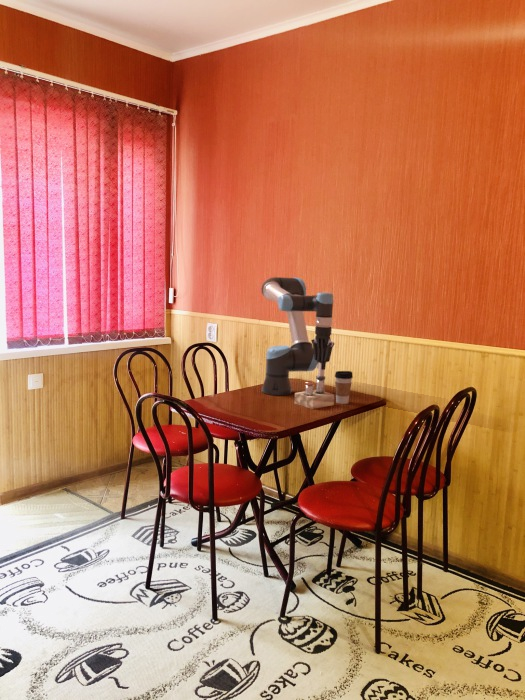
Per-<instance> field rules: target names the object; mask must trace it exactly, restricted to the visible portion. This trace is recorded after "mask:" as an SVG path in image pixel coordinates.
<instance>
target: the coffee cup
mask: <svg viewBox="0 0 525 700" xmlns="http://www.w3.org/2000/svg"><path fill="white" fill-rule="evenodd" d="M334 377H335V380H334V381H335V382H334V383H335V385H334V386H335V402H336V404H340V405H341V404H342V405H343V404H344V405H346V404H349V402H350V401H349V400H350V393H351V387H352V383H353V382H352V379H353V371H351V370H338V371H335V374H334Z"/></svg>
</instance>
